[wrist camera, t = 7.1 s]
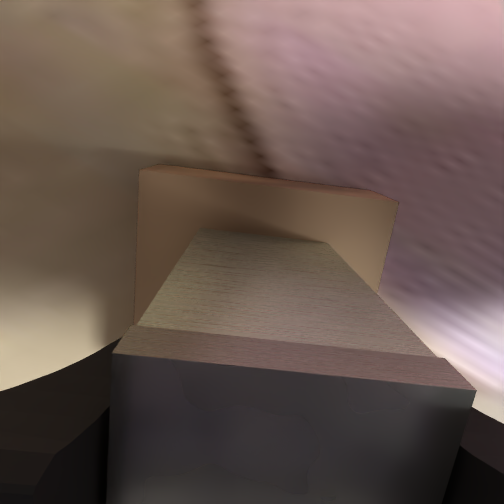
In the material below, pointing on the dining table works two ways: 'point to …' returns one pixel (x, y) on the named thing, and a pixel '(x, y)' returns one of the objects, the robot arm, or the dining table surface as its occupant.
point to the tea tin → (278, 386)
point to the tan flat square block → (253, 219)
